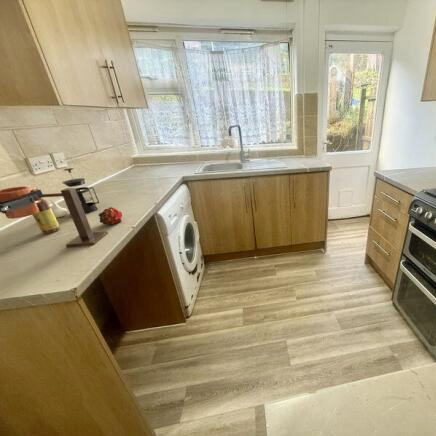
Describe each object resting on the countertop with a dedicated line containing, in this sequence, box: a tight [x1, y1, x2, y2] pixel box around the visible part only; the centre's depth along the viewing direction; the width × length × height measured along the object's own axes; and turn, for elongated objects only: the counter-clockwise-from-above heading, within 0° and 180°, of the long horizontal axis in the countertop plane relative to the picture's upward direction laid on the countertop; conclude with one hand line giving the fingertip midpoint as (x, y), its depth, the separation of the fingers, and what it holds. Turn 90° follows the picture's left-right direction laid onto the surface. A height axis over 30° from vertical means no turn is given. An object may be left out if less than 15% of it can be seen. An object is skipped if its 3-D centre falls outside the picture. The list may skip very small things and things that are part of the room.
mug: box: [0, 185, 41, 220], centre depth 87 cm, size 12×8×9 cm, turn 7°
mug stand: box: [42, 187, 109, 249], centre depth 95 cm, size 19×10×22 cm, turn 97°
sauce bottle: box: [30, 187, 61, 234], centre depth 105 cm, size 7×6×20 cm
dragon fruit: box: [98, 206, 123, 226], centre depth 114 cm, size 8×8×12 cm
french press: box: [62, 167, 100, 215], centre depth 126 cm, size 12×9×23 cm
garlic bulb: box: [51, 200, 69, 219], centre depth 124 cm, size 6×6×8 cm
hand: (27, 193), depth 89 cm, fingers closed on mug, 8 cm apart
